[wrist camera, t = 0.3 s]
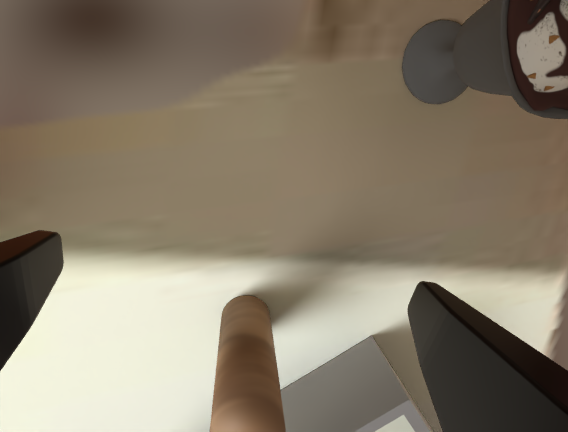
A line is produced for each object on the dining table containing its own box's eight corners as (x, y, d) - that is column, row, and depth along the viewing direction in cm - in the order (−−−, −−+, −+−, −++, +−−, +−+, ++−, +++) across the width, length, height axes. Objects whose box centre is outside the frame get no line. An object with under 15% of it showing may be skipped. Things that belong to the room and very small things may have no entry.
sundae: (495, 98, 24) (883, 73, 9) (400, 130, 24) (647, 154, 9) (482, -10, 22) (944, -251, 7) (378, 24, 22) (646, -156, 7)
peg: (239, 346, 27) (237, 475, 17) (211, 312, 26) (193, 429, 16) (278, 321, 26) (299, 438, 17) (252, 286, 25) (259, 389, 16)
